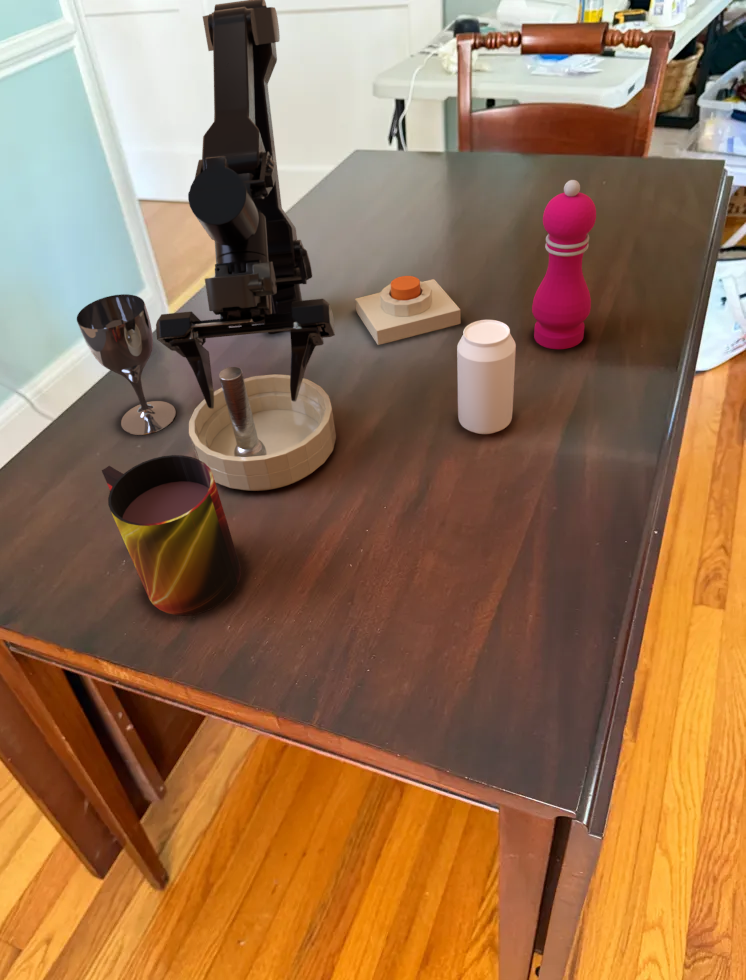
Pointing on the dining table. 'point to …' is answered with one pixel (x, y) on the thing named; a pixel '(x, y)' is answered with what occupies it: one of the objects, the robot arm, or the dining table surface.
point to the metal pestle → (240, 414)
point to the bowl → (267, 434)
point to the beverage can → (485, 376)
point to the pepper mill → (564, 270)
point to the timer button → (405, 288)
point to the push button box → (407, 313)
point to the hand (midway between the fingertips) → (252, 404)
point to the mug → (175, 532)
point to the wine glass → (125, 353)
